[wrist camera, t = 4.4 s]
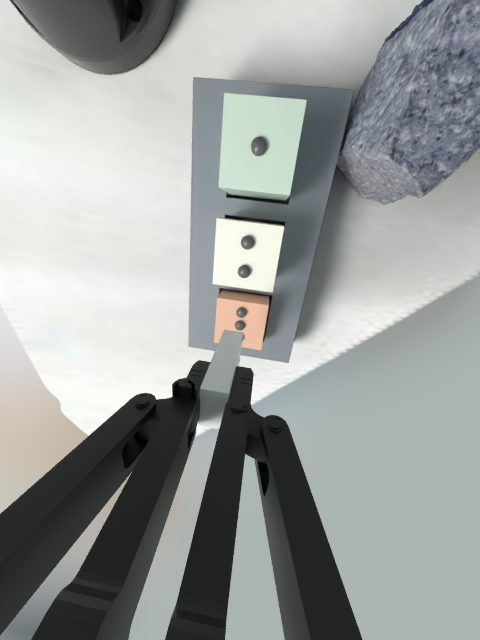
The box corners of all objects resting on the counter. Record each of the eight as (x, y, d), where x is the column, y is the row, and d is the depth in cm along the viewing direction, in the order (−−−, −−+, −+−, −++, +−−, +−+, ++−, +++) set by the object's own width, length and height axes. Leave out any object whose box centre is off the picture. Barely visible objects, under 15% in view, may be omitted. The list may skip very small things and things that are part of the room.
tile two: (228, 218, 21) (215, 218, 17) (281, 225, 21) (284, 226, 16) (223, 271, 23) (211, 284, 19) (272, 278, 23) (272, 293, 18)
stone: (392, 51, 20) (503, 103, 18) (320, 173, 25) (399, 221, 24) (409, -101, 10) (649, -22, 8) (288, 148, 16) (417, 226, 14)
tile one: (235, 124, 18) (223, 91, 14) (297, 130, 18) (307, 98, 13) (230, 194, 20) (217, 186, 16) (285, 200, 20) (290, 194, 15)
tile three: (226, 284, 26) (216, 298, 22) (269, 290, 26) (268, 306, 21) (223, 322, 28) (213, 343, 24) (262, 329, 28) (260, 351, 23)
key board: (208, 104, 21) (193, 77, 17) (337, 115, 21) (354, 89, 16) (199, 329, 31) (188, 346, 27) (286, 343, 30) (288, 362, 26)
